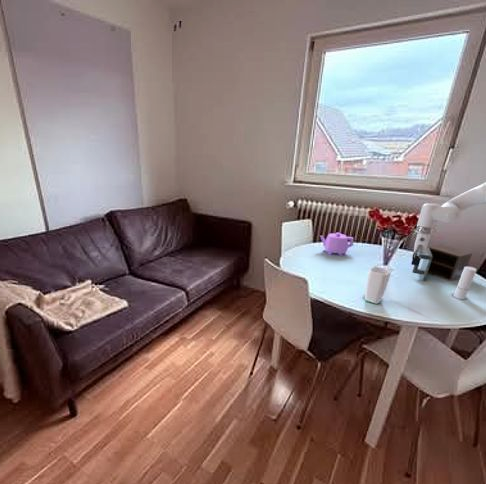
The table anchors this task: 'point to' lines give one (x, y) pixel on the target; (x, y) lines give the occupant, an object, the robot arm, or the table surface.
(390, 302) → the table surface
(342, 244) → the teapot
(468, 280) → the tube
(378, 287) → the cup
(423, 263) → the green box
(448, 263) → the cupboard
